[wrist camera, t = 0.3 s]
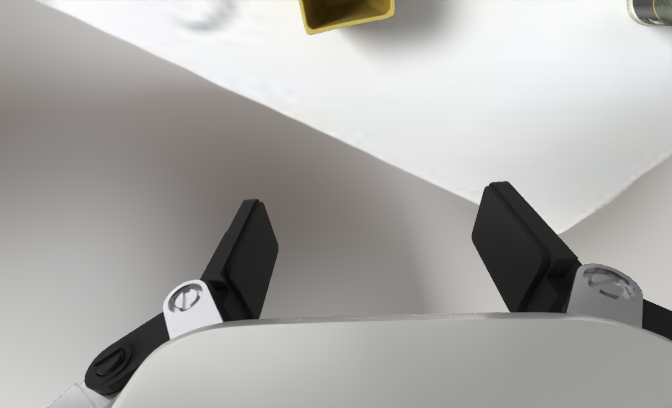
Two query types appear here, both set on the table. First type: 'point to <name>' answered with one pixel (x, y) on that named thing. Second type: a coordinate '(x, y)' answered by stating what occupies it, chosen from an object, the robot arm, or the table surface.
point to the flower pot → (342, 13)
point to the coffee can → (651, 11)
